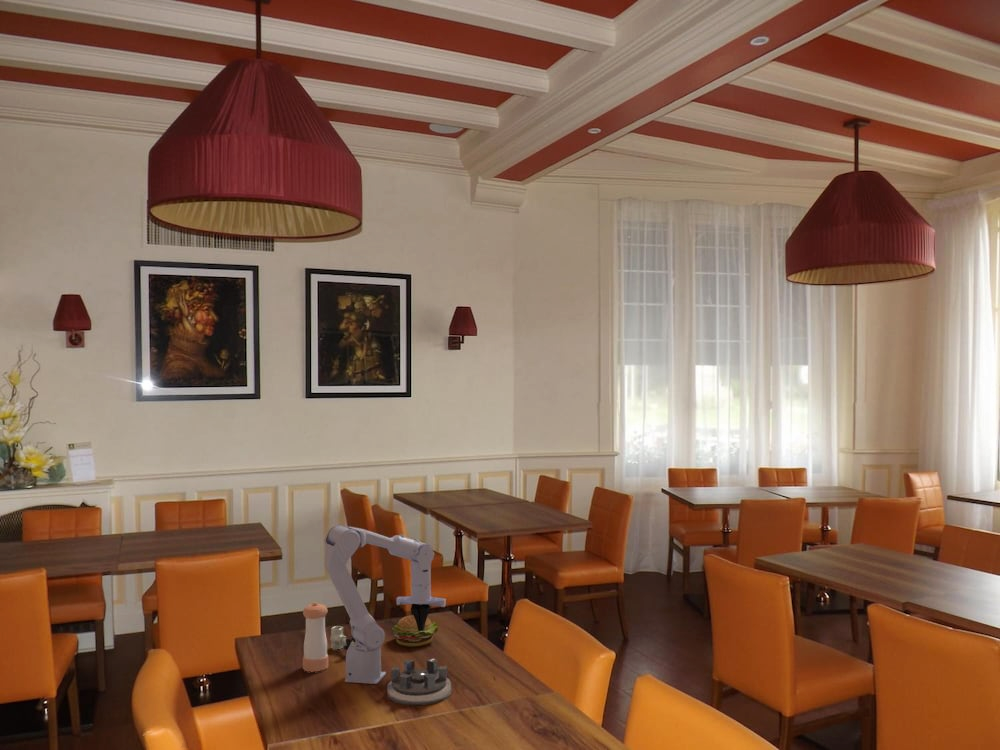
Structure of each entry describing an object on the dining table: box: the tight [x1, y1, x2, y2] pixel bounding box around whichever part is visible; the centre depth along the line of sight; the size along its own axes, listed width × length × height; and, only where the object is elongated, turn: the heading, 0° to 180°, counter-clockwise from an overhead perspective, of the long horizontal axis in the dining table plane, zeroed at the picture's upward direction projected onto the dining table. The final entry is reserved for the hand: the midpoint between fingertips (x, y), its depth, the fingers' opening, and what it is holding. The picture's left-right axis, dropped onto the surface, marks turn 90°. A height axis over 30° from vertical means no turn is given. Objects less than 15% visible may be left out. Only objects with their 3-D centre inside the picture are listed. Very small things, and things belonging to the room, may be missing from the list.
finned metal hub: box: [390, 658, 448, 695], centre depth 204 cm, size 15×15×4 cm
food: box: [391, 614, 439, 648], centre depth 245 cm, size 14×14×8 cm
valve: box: [330, 625, 356, 654], centre depth 236 cm, size 7×7×12 cm
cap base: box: [386, 677, 452, 707], centre depth 204 cm, size 17×17×2 cm
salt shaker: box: [302, 601, 329, 672], centre depth 223 cm, size 7×7×19 cm
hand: (421, 629), depth 224 cm, fingers closed
